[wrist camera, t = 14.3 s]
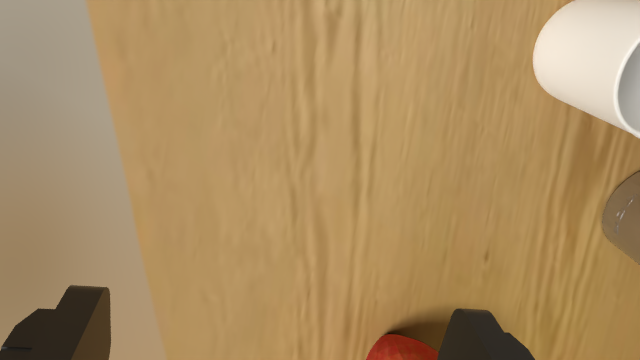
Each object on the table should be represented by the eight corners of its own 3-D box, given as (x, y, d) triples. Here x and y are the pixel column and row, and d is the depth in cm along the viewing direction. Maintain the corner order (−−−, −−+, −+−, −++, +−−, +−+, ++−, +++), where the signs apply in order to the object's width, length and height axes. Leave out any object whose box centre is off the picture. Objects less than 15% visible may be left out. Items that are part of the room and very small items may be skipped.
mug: (652, 94, 41) (767, 133, 32) (567, 149, 42) (654, 202, 33) (606, -29, 36) (727, -25, 27) (512, 37, 37) (596, 63, 28)
